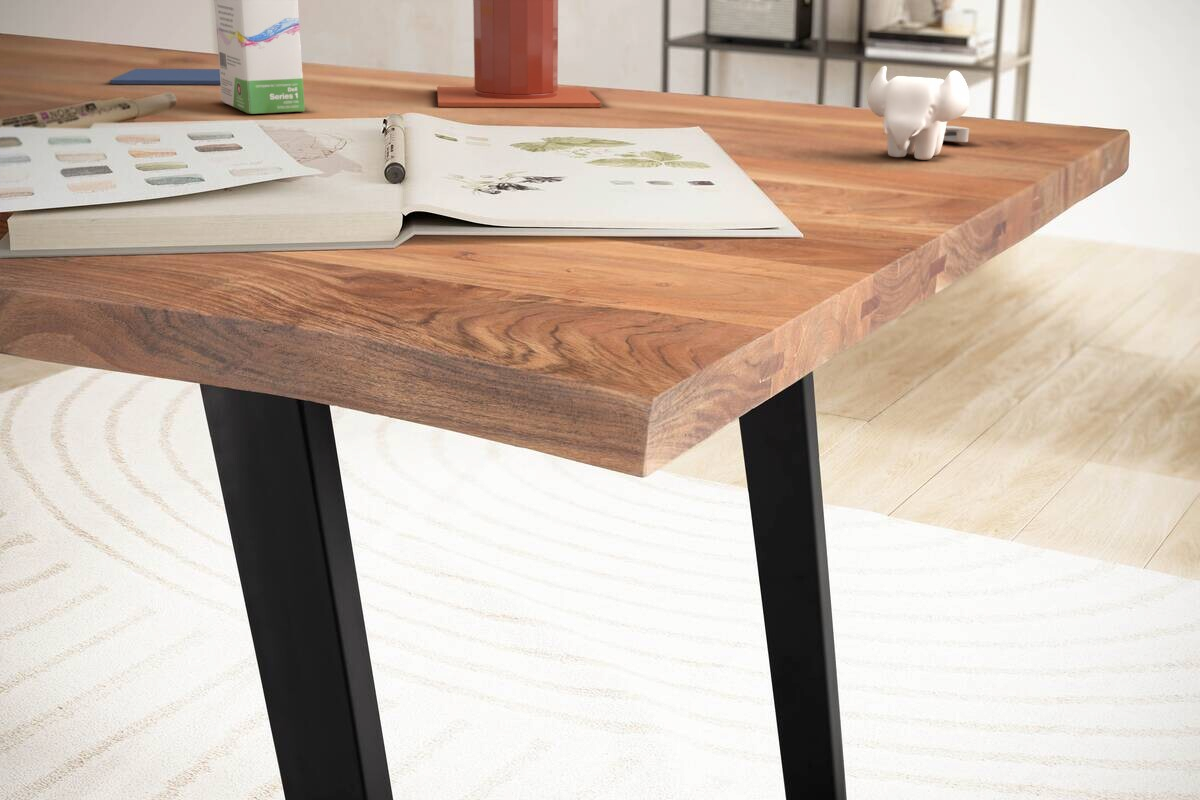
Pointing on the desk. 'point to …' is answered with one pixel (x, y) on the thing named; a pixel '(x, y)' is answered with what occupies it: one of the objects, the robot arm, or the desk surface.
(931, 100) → the elephant figurine
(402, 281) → the desk surface
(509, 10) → the terracotta cup
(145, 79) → the blue mat
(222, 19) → the ink box
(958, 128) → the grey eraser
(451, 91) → the terracotta mat
